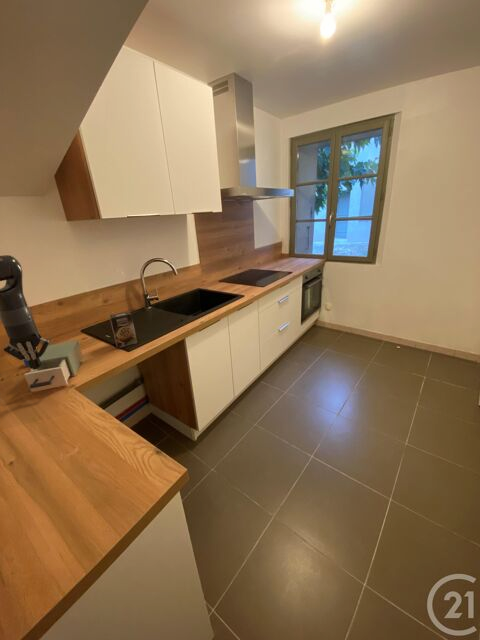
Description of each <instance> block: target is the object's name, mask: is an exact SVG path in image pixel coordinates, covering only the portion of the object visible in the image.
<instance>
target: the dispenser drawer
mask: <svg viewBox="0 0 480 640" xmlns="http://www.w3.org/2000/svg"><path fill="white" fill-rule="evenodd" d="M70 374H71V370H70V367H69V364H68V361H67V358H65V359H59V360H53V361H48V362H42V363H41V366H40V368H39V369H35V370H33V369H32V368H30V370H29V372H25V373H24V375H23V376H24V378H25V381H26V383H27V385H28V387H29V390H30V392H31V393H34V392H39V391H43V390H44V391H45V390H49V389H55V388H59V387H63V386H68V384H69V382H68V379H69V378H70V377H69V376H70Z"/></svg>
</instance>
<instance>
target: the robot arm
mask: <svg viewBox="0 0 480 640" xmlns="http://www.w3.org/2000/svg"><path fill="white" fill-rule="evenodd" d="M2 281H3V282H4V281H5V284H4V286H2V287H1V288H0V320H1V323H2V326H3V328H4V330H5V332H6V335H7V337H8V338H9V340H8V343H9V344H7V345H6V346H5V347H4V348H3V351H4V352H5V353H7V354H9V355H11V356H12V357H14V358H16V359H18V360H20V361H23V360H24V359H25V360H27V361H28V363H29V366H30V367H29V368H30V369H33V370H35V369H39V368H40V366H41V361H40V359H39V357H41V356H42V355H43V354H44V352H45V350H46V349H47V347H48V345H50V343H51V339H50V338H47V339H46V338H43V337H42V335H41V334H40V333H39V330H38V327H37V324H36V322H35V318H34V316H33V314H32V311H31V308H30V307H29V305H28V302H27V300H26V297H25V294H24V289H23V288H24V286H23V268H22V264H21V263H20V261H19V260H18V259H17V258H16V257H14V256H13V255H9V254H4V255H3V254H2V255H0V282H2ZM39 345H40V346H41V347H40V349H39V347H38V346H39Z"/></svg>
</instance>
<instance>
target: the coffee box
mask: <svg viewBox="0 0 480 640" xmlns="http://www.w3.org/2000/svg"><path fill="white" fill-rule="evenodd" d="M108 316H109V320H110V326H111V329H112V333H113V338H114V341H115V346H116V348H117V349H120V348H121V349H122V348H124V347H129V346H131V345H135V344H138V339H137V334H136V330H135V326H134V320H133V316H132V313H131V312H130V311H129V310H127V311H123V312H117V313H112V314H108Z"/></svg>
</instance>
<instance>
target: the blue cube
mask: <svg viewBox="0 0 480 640" xmlns="http://www.w3.org/2000/svg"><path fill="white" fill-rule="evenodd" d="M22 361H23V363H24V365H25V368H30V366H29V363H28V361H27V360H25V359H23V360H22Z"/></svg>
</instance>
